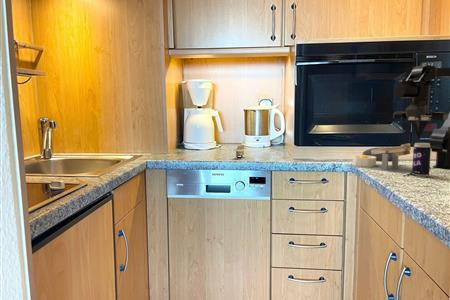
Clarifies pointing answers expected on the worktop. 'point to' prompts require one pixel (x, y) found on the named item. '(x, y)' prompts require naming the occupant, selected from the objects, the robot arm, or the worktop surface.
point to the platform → (240, 150)
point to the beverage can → (421, 159)
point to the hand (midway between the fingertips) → (418, 137)
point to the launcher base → (386, 167)
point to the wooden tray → (394, 150)
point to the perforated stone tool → (378, 156)
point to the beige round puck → (364, 161)
